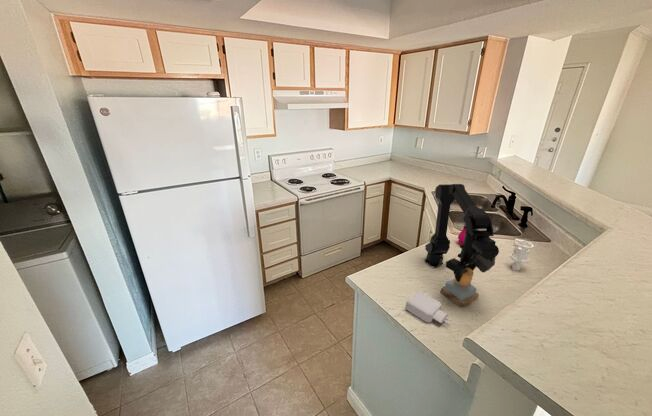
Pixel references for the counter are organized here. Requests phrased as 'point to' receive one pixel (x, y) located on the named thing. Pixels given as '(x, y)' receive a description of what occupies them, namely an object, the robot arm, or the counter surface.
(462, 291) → the block
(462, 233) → the pepper mill
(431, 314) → the charger
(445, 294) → the tower base
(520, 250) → the white tall piece
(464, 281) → the orange cylinder
